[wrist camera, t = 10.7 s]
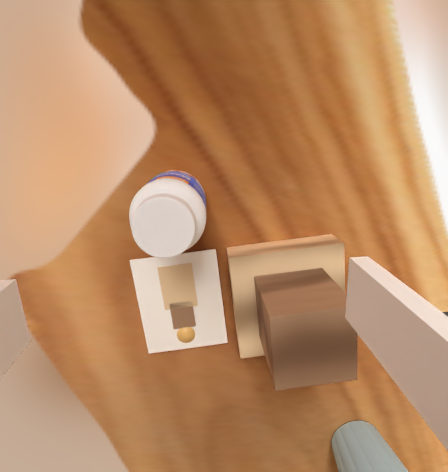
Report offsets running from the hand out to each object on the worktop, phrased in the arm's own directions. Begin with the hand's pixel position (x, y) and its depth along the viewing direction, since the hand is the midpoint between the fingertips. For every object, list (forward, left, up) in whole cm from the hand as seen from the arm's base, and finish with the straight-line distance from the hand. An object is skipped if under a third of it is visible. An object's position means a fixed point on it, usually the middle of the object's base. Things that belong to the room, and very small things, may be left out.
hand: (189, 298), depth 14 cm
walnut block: (+9, +7, -15) cm, 19 cm away
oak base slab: (+9, +7, -18) cm, 21 cm away
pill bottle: (-1, -2, -18) cm, 18 cm away
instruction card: (+9, -3, -18) cm, 20 cm away
